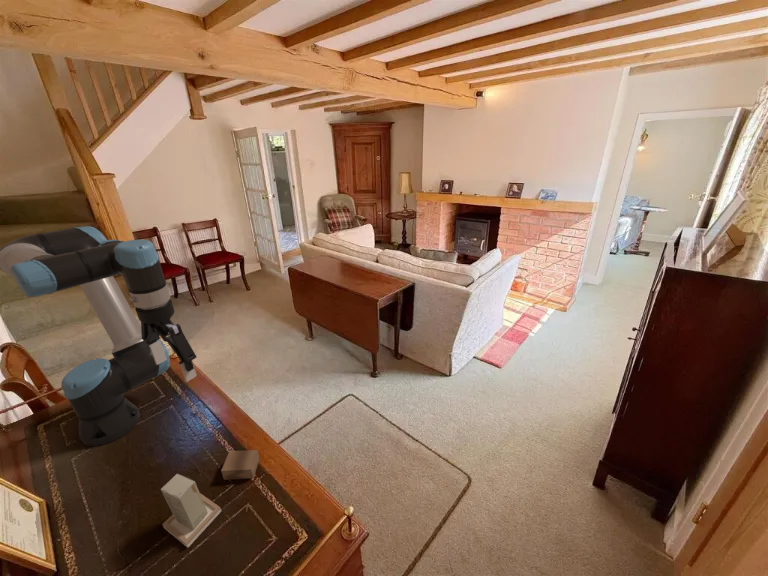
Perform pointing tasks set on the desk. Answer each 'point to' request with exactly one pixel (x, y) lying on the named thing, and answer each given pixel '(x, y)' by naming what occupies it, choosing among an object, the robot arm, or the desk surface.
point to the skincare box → (185, 501)
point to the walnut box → (240, 464)
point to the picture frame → (188, 534)
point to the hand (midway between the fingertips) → (175, 369)
